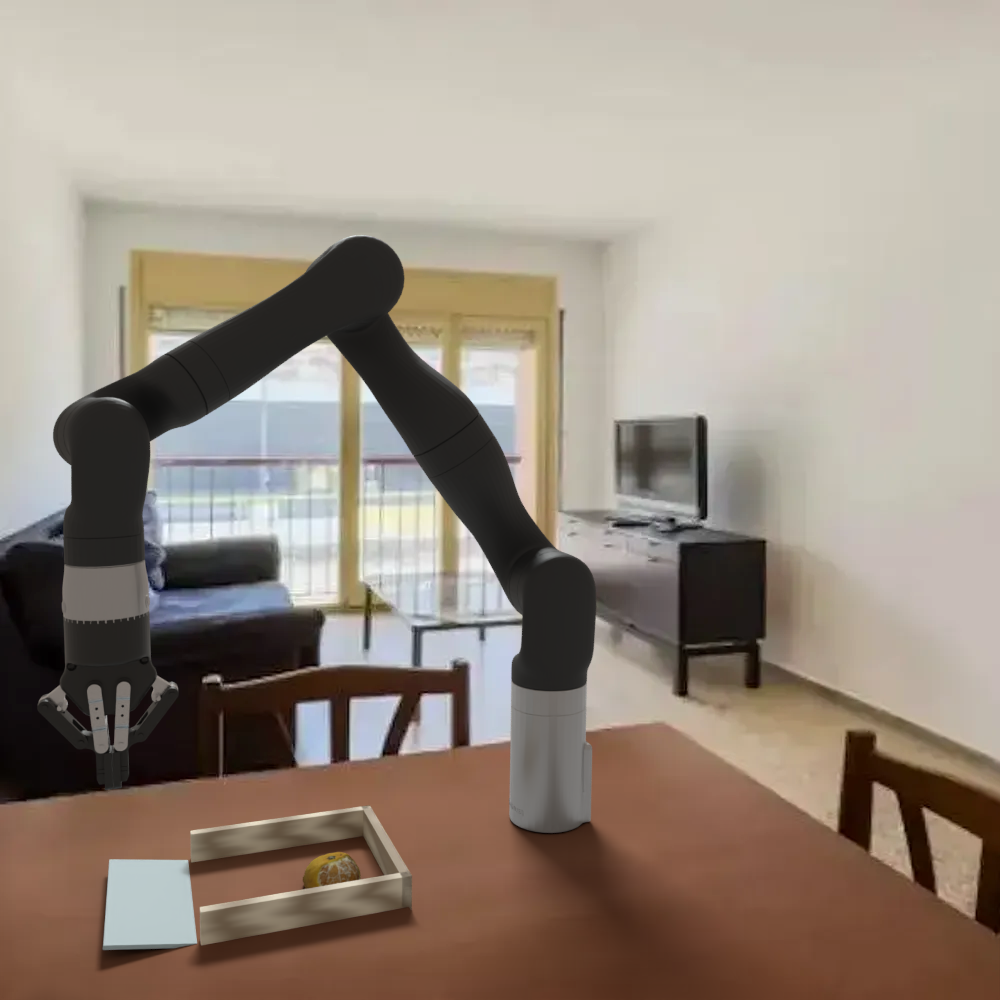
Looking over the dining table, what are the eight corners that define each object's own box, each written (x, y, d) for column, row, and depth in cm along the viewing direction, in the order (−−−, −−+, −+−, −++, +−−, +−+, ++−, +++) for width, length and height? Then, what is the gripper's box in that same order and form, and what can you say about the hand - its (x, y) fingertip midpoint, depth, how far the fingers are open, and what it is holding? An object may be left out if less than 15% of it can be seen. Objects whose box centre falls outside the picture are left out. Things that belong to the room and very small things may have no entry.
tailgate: (188, 860, 100) (109, 859, 97) (197, 943, 84) (103, 945, 81) (187, 863, 100) (108, 863, 97) (196, 947, 84) (102, 949, 81)
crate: (369, 834, 108) (369, 805, 108) (411, 909, 91) (411, 875, 91) (190, 861, 101) (190, 830, 100) (200, 949, 84) (200, 912, 84)
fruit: (332, 926, 88) (332, 889, 88) (281, 896, 94) (281, 861, 94) (396, 894, 95) (396, 860, 94) (344, 867, 100) (344, 835, 100)
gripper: (179, 597, 93) (183, 763, 94) (33, 606, 88) (40, 781, 89) (182, 611, 86) (187, 790, 87) (24, 622, 81) (32, 812, 82)
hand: (113, 786), depth 88 cm, fingers closed
